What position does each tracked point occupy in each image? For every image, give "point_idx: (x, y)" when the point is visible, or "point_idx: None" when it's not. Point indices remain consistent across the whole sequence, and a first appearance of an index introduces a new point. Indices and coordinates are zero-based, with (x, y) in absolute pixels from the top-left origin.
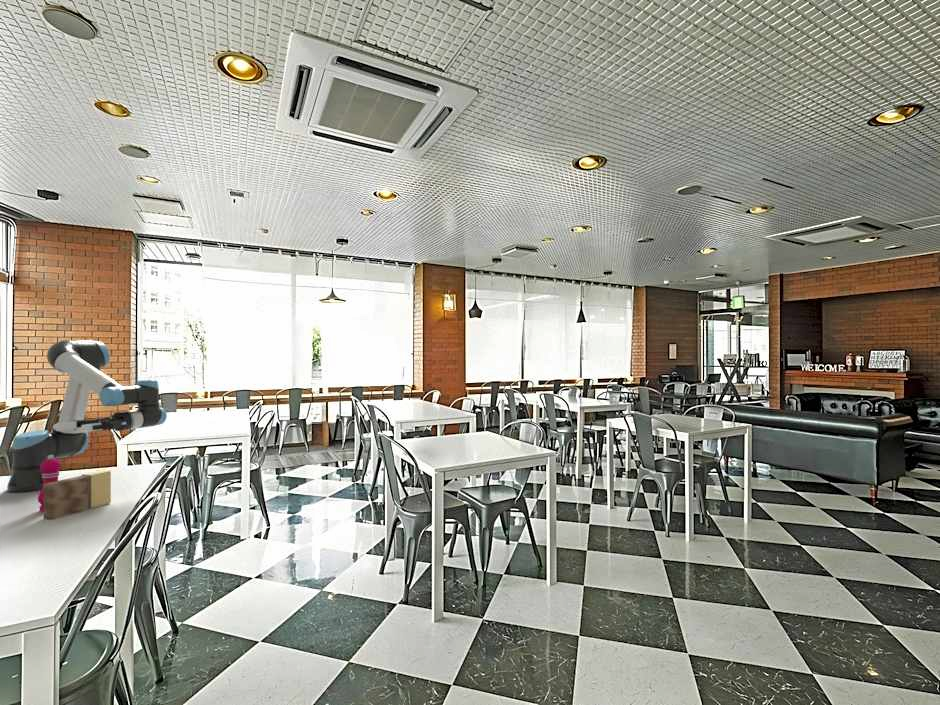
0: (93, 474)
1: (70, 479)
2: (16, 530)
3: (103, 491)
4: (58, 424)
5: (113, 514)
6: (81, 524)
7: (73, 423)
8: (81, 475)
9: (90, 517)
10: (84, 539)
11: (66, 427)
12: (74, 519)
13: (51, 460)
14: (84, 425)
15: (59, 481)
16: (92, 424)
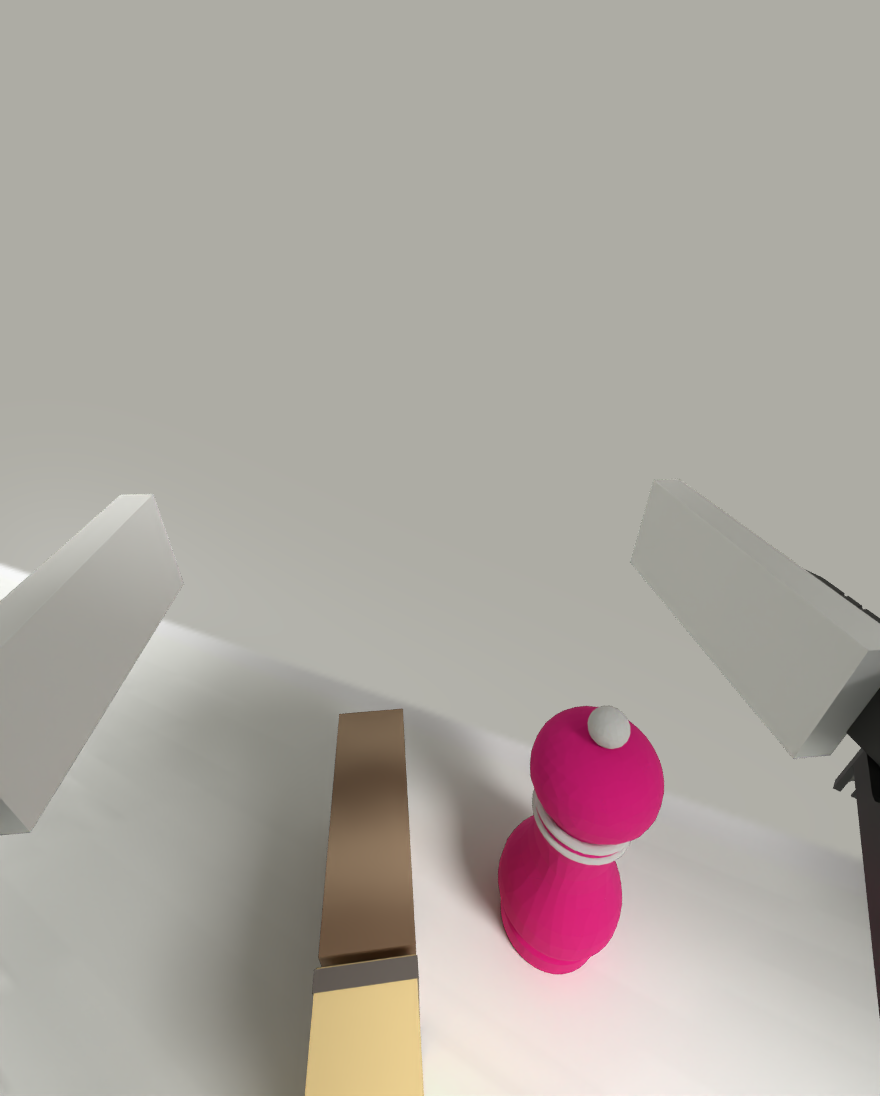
0: (323, 1036)
1: (367, 833)
2: (353, 705)
3: None
4: (656, 498)
5: (77, 1070)
6: (156, 845)
7: (794, 637)
8: (413, 955)
9: (195, 939)
10: None
11: (694, 602)
12: (256, 874)
13: (569, 731)
14: (112, 511)
15: (378, 771)
16: (38, 581)
